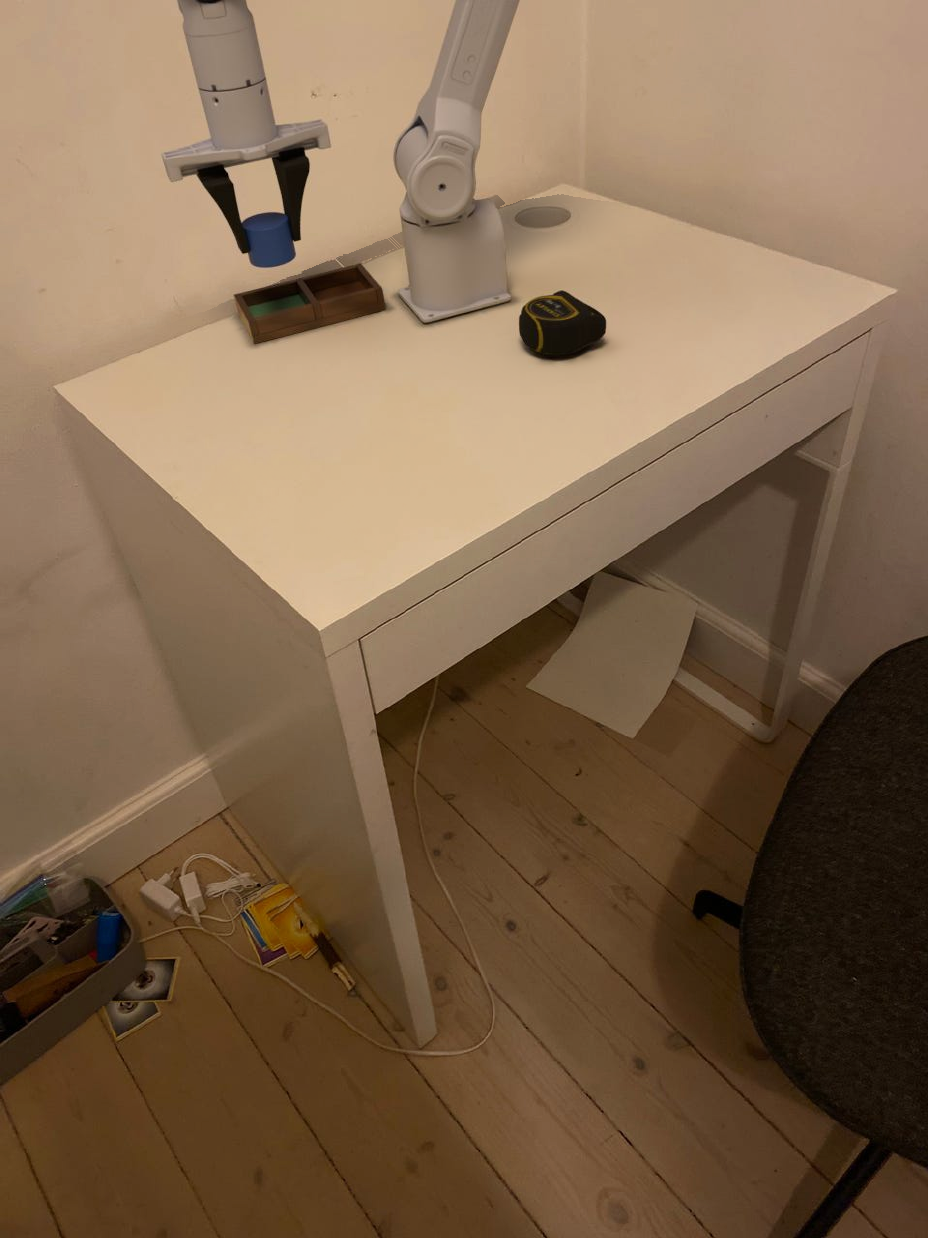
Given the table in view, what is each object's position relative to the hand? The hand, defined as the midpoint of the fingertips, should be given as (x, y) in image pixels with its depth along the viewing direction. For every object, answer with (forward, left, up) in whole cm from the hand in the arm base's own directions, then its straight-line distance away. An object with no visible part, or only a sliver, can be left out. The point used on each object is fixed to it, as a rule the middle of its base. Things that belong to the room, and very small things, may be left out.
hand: (269, 243), depth 87 cm
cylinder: (0, 0, -1) cm, 1 cm away
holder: (-3, -2, -8) cm, 9 cm away
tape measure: (-22, +17, -9) cm, 29 cm away
